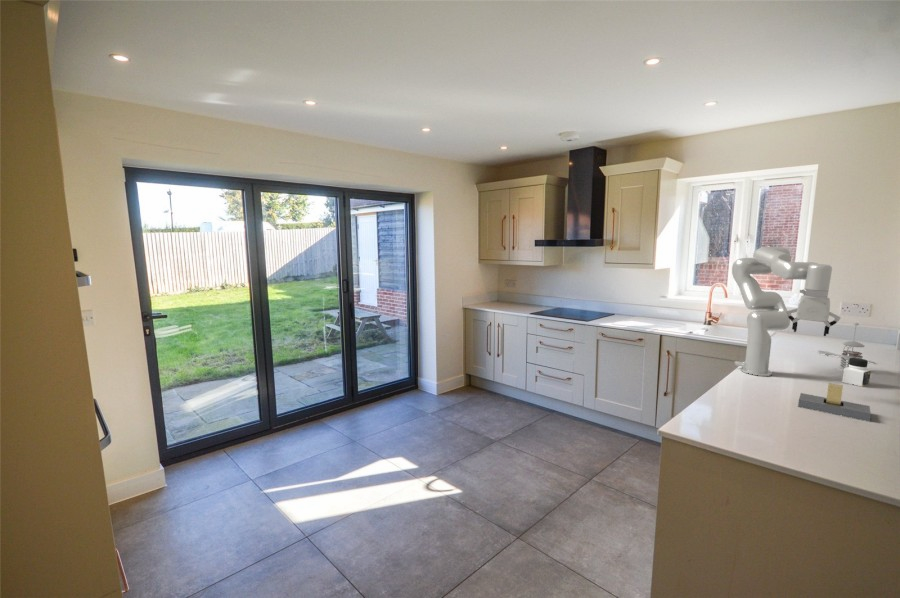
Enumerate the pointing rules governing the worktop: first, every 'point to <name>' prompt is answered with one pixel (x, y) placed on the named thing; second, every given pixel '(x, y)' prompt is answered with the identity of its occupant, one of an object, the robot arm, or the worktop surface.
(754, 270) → the robot arm
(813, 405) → the grey socket block
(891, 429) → the worktop surface
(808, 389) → the worktop surface
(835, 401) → the brass peg
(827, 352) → the adjustable wrench
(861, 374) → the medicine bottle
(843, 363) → the french press
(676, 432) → the worktop surface
